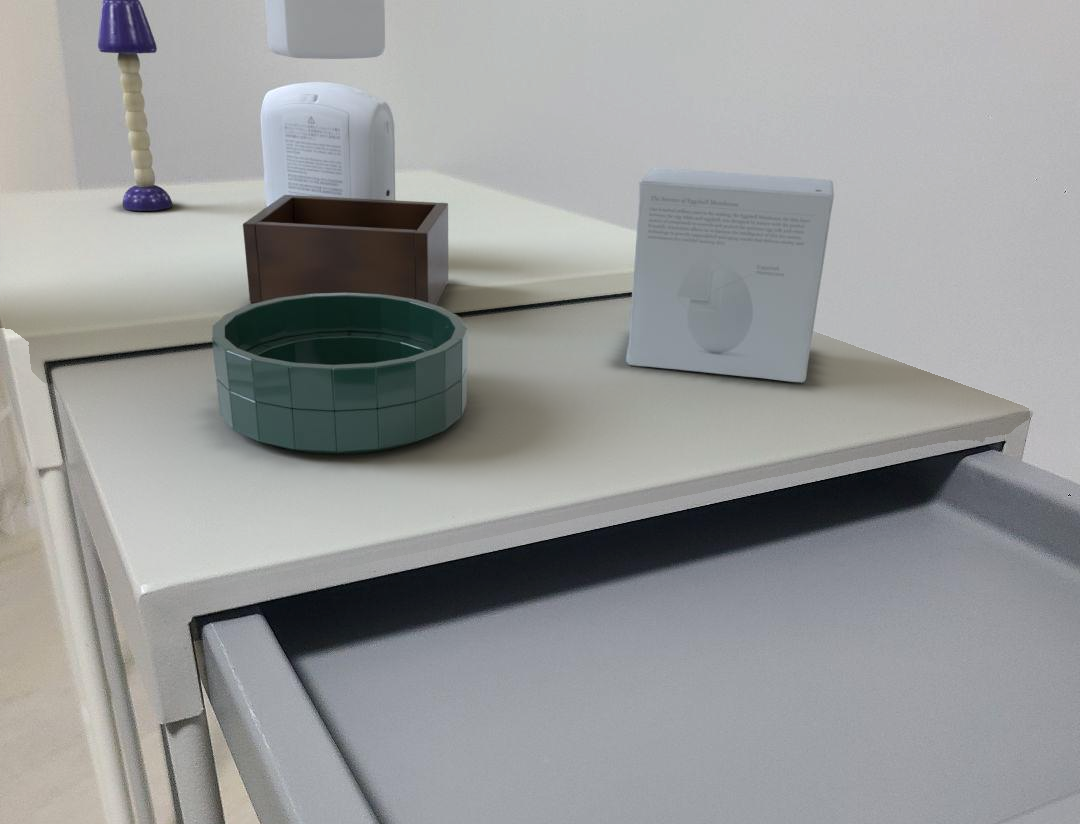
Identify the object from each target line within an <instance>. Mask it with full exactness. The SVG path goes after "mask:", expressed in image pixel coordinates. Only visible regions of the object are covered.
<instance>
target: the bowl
mask: <svg viewBox="0 0 1080 824" xmlns="http://www.w3.org/2000/svg"><path fill="white" fill-rule="evenodd" d="M211 341H212V342H211V343H212V351H213V361H214V369H215V379H216V389H217V397H218V406H219V415H220V417H221V419H222V420H223V421H224V422H225V423H226V424H227V425H228V426H229V427H230V428H231V429H232V430H233V431H235V432H237V433H239V434H241V435H243V436H245V437H248V438H250V439H252V440H254V441H256V442H261V443H264V444H268V445H271V446H275V447H277V448H280V449H281V448H282V449H287V450H291V451H296V452H303V453H313V454H325V455H326V454H330V455H331V454H332V455H346V454H361V453H363V454H364V453H371V452H380V451H387V450H390V449H395V448H399V447H404V446H407V445H411V444H414V443H416V442H419V441H421V440H424V439H427V438H429V437H432V436H434V435H436V434H439V433H441V432H444V431H445V430H447V429H448V428H449V427H450V426H452V425H453V424H454V423H456V422H457V421H458V420H459V419H461V417H463V414H464V411H465V409H466V405H467V401H468V400H467V399H468V398H467V397H468V396H467V395H468V394H467V390H468V389H467V387H468V386H467V384H468V383H467V382H468V379H467V377H468V369H467V368H468V367H467V366H468V328H467V326H466V325H465V323H464V321H463V320H462V318H461V317H460V315H457V314H455V313H453V312H452V311H450V310H448V309H446V308H444V307H443V306H439V305H438V304H437V305H433V304H430V303H426V302H423V301H420V300H415V299H411V298H404V297H397V296H391V295H382V294H365V293H319V294H305V295H297V296H289V297H281V298H276V299H272V300H267V301H263V302H259V303H255V304H250V303H249V304H248V305H244V306H242V307H240V308H238V309H235V310H233V311H230V312H228V313H226V314H224V315H222V317H221V318H219V319H218V320H217V321H216V322H215V323H214V324H213V325H212V326H211Z"/></svg>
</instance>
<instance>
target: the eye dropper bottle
mask: <svg viewBox="0 0 1080 824" xmlns="http://www.w3.org/2000/svg"><path fill="white" fill-rule="evenodd" d="M264 10H265V11H264V12H265V26H266V40H267V45H268V48H269V49H270V51H271V52H272V53H273V54H275V55H279V56H283V57H288V58H293V59H294V58H295V59H313V60H314V59H320V60H344V59H345V60H350V59H369V58H370V59H371V58H378V57H380V56H381V55H383V54H384V52H385V48H386V20H385V19H386V17H385V16H386V13H385V0H264Z"/></svg>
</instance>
